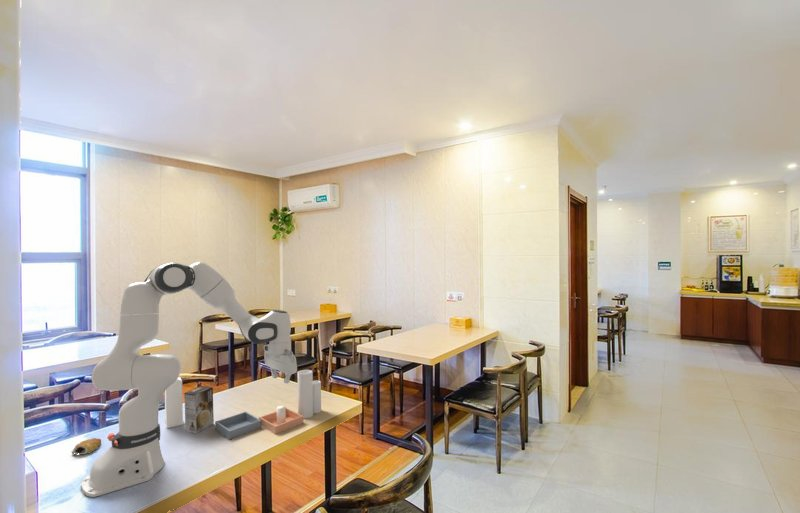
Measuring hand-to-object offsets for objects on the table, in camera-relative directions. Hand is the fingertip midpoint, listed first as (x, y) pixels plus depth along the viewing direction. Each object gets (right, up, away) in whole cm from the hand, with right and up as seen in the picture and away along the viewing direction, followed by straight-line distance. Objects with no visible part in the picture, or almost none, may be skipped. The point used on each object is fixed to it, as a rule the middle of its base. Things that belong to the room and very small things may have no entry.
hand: (280, 380), depth 164 cm
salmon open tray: (0, -19, 0) cm, 19 cm away
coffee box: (-34, -20, -1) cm, 39 cm away
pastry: (-67, -20, -19) cm, 72 cm away
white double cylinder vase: (+9, -19, +11) cm, 24 cm away
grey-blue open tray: (-17, -19, -3) cm, 26 cm away
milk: (-47, -20, +2) cm, 51 cm away
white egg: (0, -19, 0) cm, 19 cm away
